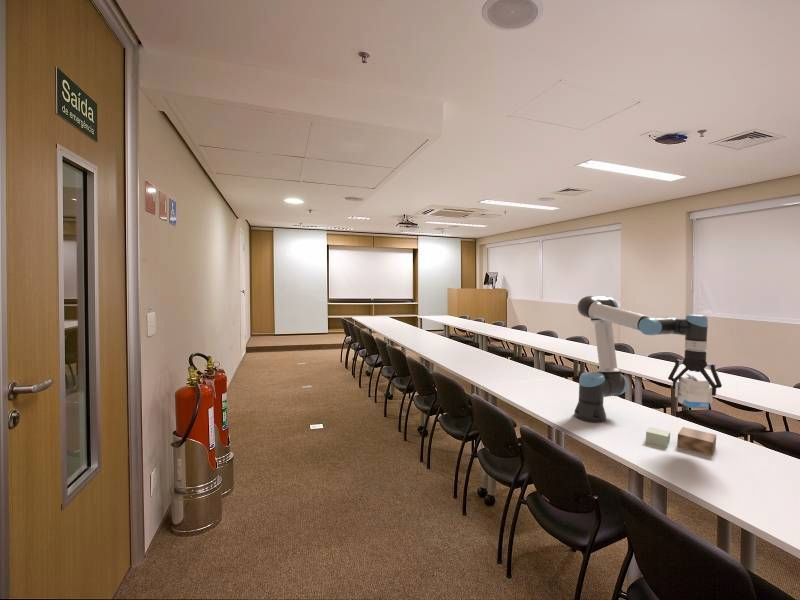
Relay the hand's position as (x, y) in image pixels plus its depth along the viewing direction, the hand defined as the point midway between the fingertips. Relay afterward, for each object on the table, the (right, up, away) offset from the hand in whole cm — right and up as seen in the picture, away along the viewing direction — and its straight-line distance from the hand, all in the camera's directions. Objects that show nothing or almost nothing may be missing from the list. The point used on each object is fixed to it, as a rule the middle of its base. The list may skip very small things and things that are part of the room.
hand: (693, 399), depth 168 cm
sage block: (-13, -21, +4) cm, 25 cm away
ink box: (0, -3, 0) cm, 3 cm away
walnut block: (+1, -21, 0) cm, 21 cm away
